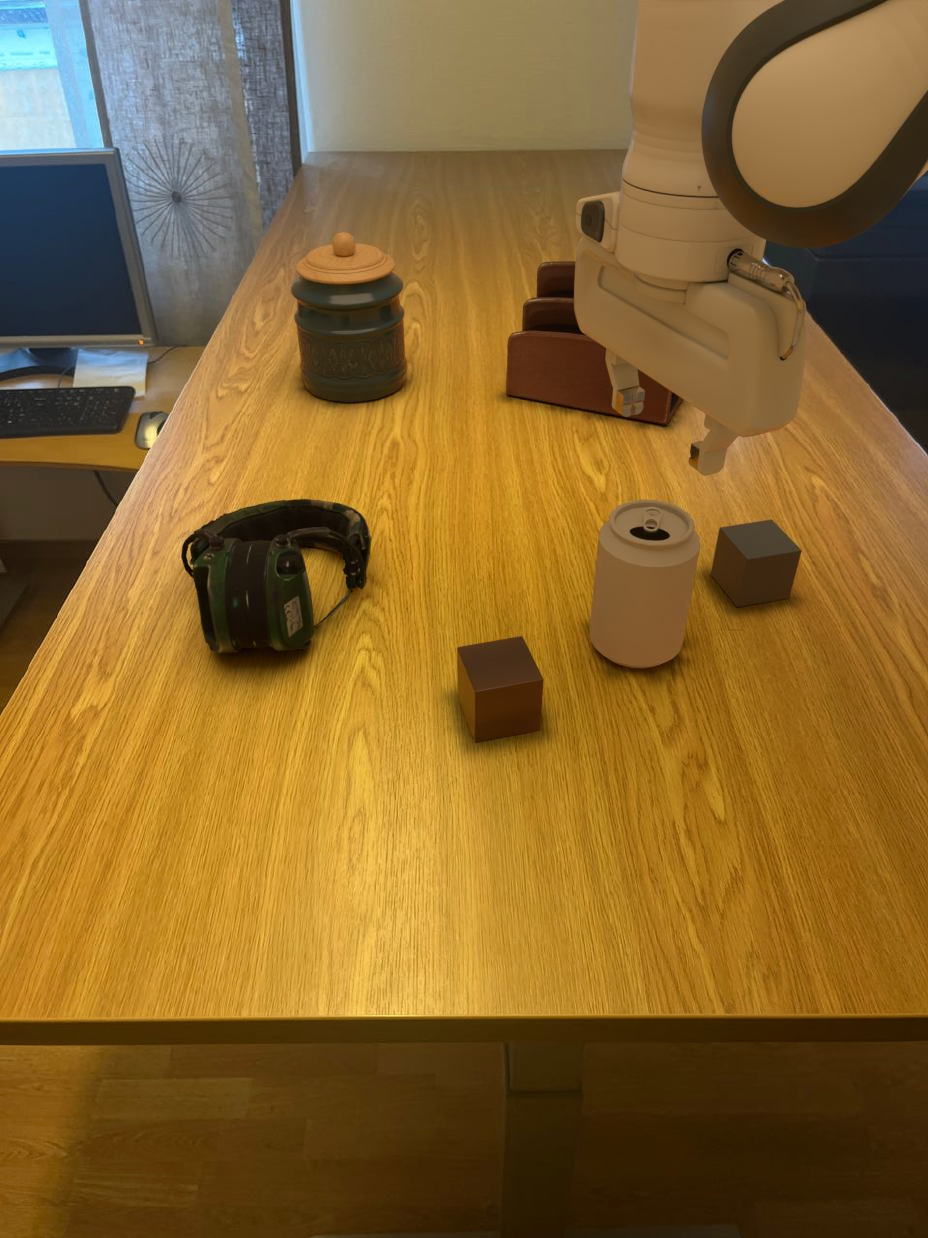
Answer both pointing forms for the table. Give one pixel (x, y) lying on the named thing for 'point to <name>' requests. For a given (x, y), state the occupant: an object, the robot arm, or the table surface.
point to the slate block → (755, 562)
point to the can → (643, 583)
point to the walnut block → (499, 688)
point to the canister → (349, 322)
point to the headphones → (270, 570)
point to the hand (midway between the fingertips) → (663, 439)
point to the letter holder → (569, 355)
